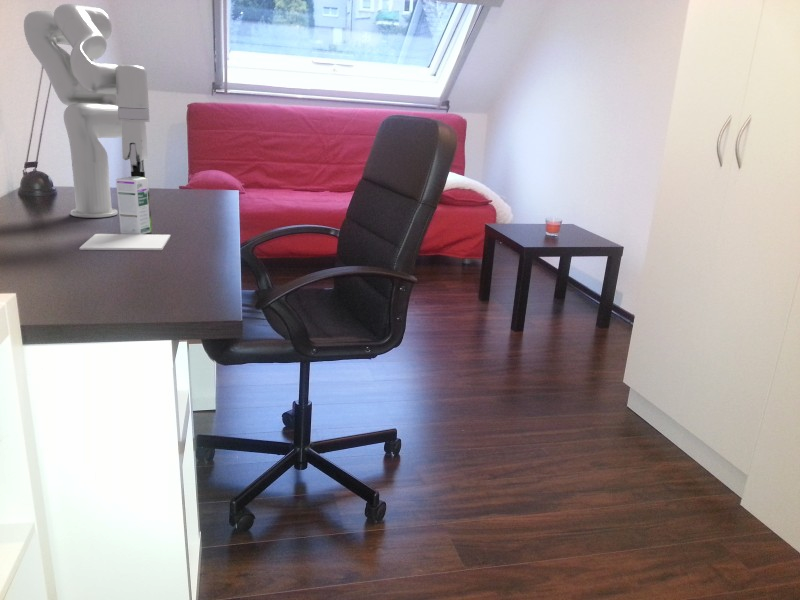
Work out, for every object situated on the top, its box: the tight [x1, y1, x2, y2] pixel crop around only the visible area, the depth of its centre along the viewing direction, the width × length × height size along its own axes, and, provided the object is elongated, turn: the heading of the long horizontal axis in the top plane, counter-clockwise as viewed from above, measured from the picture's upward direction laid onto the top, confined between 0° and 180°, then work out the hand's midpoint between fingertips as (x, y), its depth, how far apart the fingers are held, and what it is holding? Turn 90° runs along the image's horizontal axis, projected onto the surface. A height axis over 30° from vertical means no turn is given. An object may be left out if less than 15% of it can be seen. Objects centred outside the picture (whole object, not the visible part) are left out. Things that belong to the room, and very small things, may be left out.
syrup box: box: [115, 175, 153, 234], centre depth 167 cm, size 6×6×14 cm
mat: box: [78, 233, 171, 251], centre depth 158 cm, size 16×18×1 cm
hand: (138, 186), depth 173 cm, fingers closed
